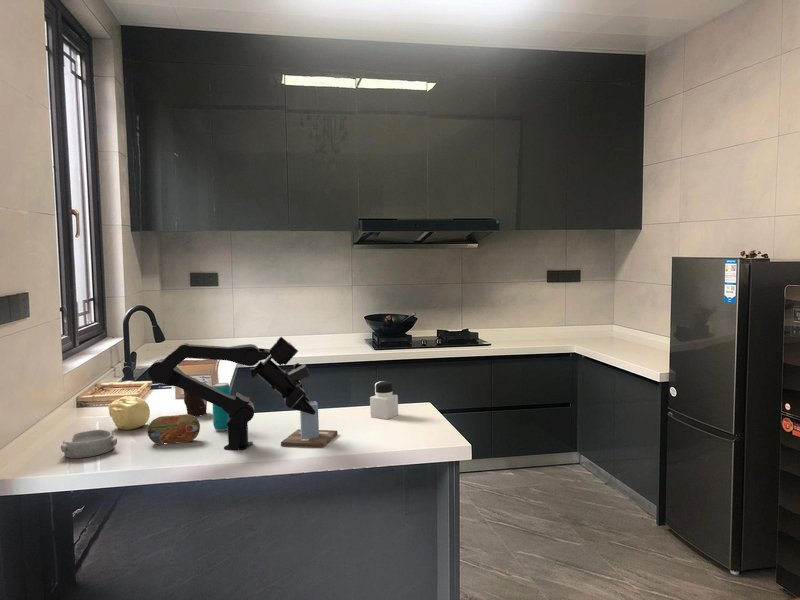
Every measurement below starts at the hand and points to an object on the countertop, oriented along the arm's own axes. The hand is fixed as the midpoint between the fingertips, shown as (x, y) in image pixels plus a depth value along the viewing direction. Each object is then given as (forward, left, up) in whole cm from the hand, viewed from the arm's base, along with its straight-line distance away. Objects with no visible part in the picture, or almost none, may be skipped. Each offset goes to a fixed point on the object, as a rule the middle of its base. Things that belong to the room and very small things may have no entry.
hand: (313, 410), depth 187 cm
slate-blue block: (-1, +1, -8) cm, 8 cm away
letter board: (-1, +1, -9) cm, 9 cm away
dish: (-20, +62, -10) cm, 66 cm away
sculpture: (+6, +67, -9) cm, 68 cm away
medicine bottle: (+30, -15, -9) cm, 35 cm away
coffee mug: (+24, +54, -9) cm, 60 cm away
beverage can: (+7, +34, -9) cm, 36 cm away
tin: (-8, +42, -9) cm, 44 cm away
